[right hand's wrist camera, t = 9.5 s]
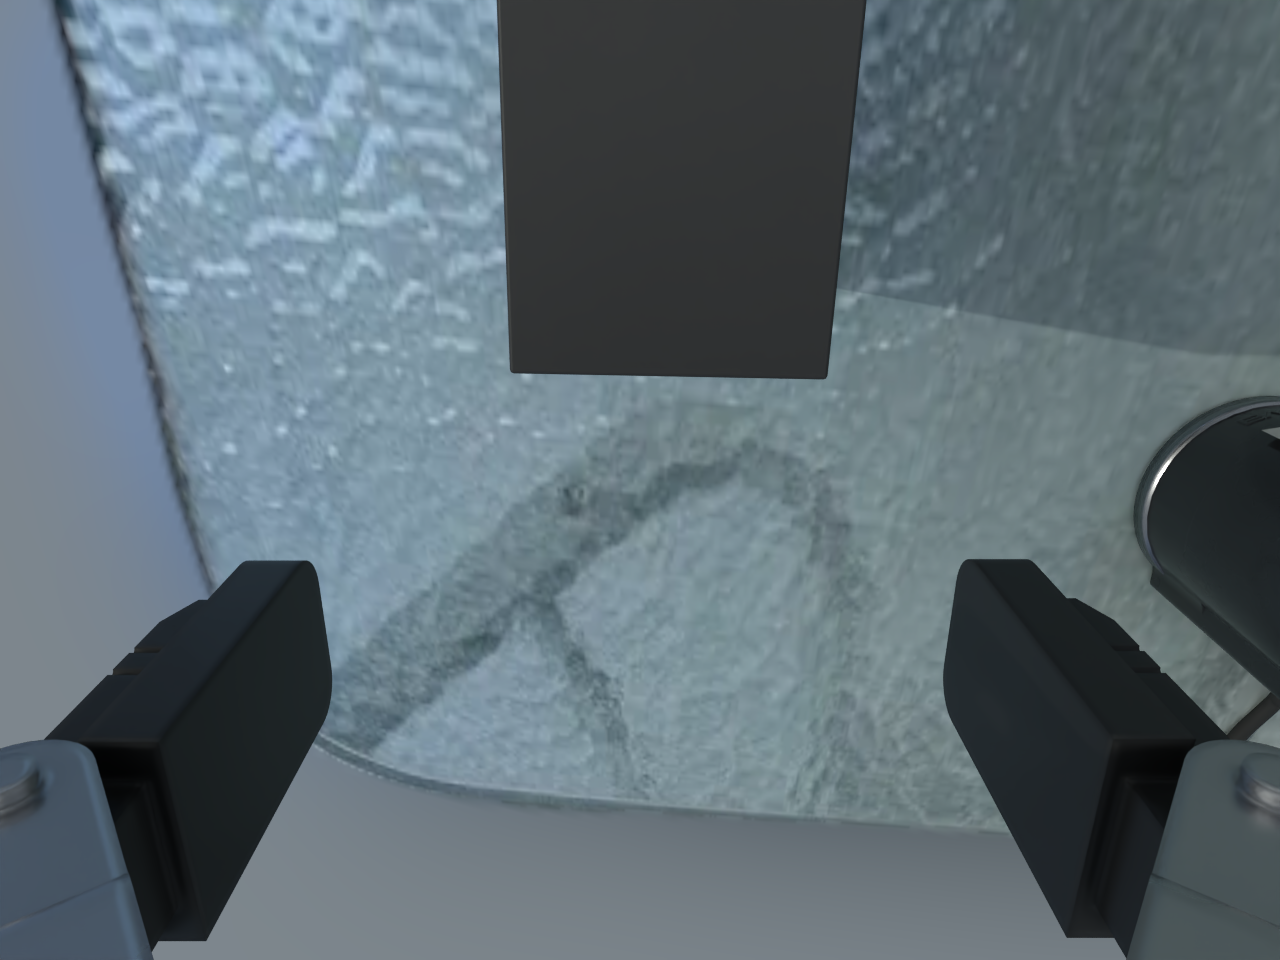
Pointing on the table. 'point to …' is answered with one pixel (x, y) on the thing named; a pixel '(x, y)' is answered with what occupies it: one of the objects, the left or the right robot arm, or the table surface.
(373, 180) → the table surface
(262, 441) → the table surface
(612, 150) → the box
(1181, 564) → the right robot arm
